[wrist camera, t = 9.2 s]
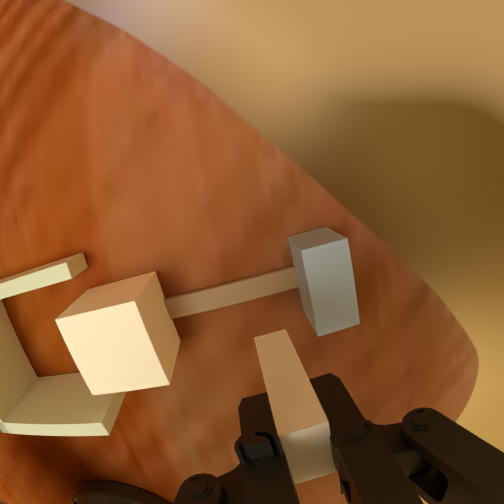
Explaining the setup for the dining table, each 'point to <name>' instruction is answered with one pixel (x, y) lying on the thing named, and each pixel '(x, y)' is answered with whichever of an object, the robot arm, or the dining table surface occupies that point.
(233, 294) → the tethered block
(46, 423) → the shelf lane
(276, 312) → the dining table surface
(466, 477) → the robot arm
